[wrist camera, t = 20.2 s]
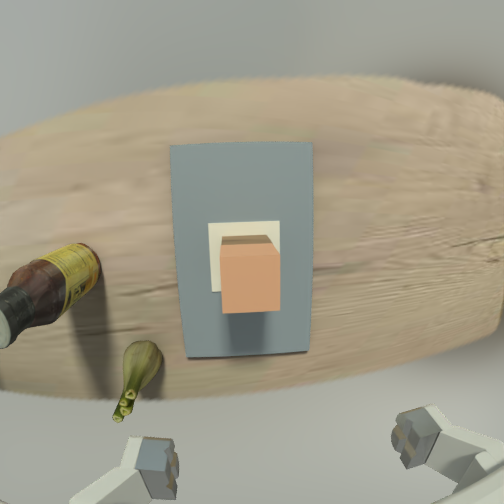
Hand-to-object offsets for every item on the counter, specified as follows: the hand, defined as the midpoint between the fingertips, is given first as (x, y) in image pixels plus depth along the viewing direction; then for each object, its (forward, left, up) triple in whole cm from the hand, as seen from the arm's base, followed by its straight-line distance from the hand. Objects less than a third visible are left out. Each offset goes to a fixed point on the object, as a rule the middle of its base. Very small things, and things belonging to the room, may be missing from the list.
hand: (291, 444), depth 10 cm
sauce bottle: (-13, +16, -29) cm, 36 cm away
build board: (0, 0, -29) cm, 29 cm away
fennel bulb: (-19, +3, -29) cm, 35 cm away
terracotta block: (0, 0, -23) cm, 23 cm away
